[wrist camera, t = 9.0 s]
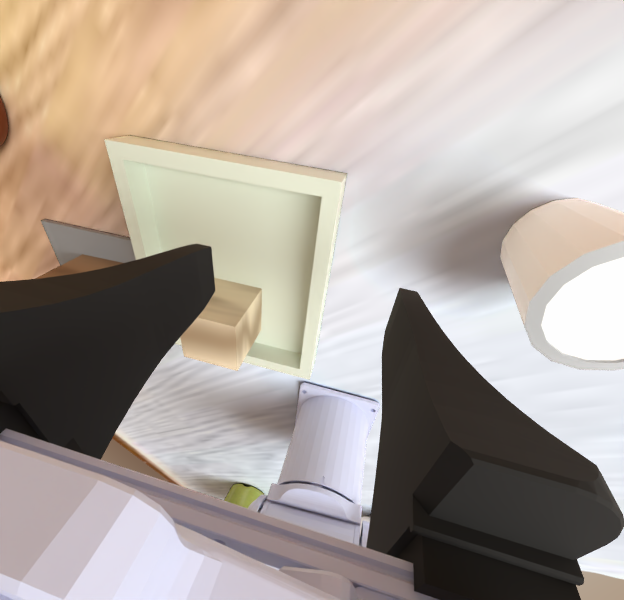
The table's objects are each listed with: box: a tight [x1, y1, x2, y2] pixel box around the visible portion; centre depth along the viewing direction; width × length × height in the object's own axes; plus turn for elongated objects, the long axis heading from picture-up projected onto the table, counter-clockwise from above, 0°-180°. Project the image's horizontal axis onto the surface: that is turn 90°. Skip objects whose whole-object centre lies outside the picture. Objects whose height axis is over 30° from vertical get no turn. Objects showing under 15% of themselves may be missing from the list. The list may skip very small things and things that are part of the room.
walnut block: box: [36, 254, 123, 279], centre depth 26 cm, size 4×4×5 cm
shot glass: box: [500, 198, 624, 370], centre depth 15 cm, size 7×7×7 cm
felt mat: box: [41, 219, 136, 266], centre depth 29 cm, size 11×10×1 cm
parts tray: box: [104, 135, 347, 380], centre depth 24 cm, size 17×15×2 cm
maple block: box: [180, 278, 262, 371], centre depth 24 cm, size 4×4×5 cm
